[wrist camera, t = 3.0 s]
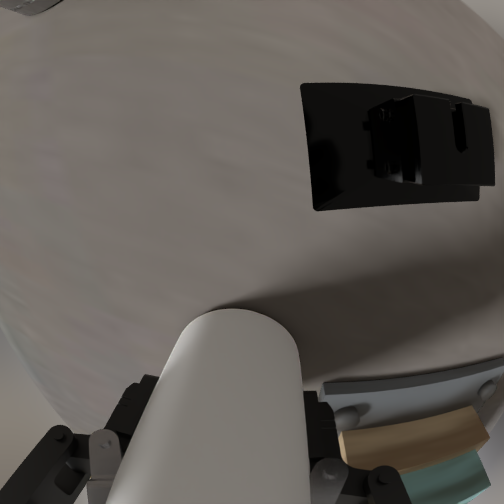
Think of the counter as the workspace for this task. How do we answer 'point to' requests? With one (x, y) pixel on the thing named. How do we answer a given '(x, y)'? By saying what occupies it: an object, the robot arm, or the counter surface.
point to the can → (222, 420)
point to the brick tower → (419, 429)
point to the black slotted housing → (394, 146)
